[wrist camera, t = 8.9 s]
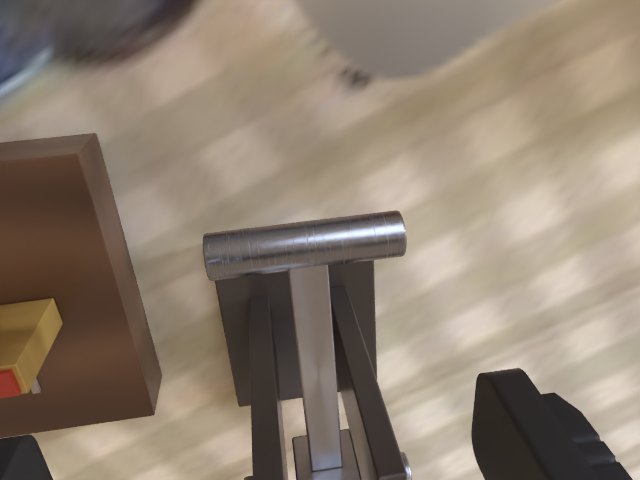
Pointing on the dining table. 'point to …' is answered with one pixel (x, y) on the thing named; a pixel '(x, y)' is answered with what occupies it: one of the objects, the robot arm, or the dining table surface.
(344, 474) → the door handle
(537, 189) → the dining table surface
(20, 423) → the plate
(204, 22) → the dining table surface
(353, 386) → the handle bracket
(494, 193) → the dining table surface
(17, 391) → the bar
